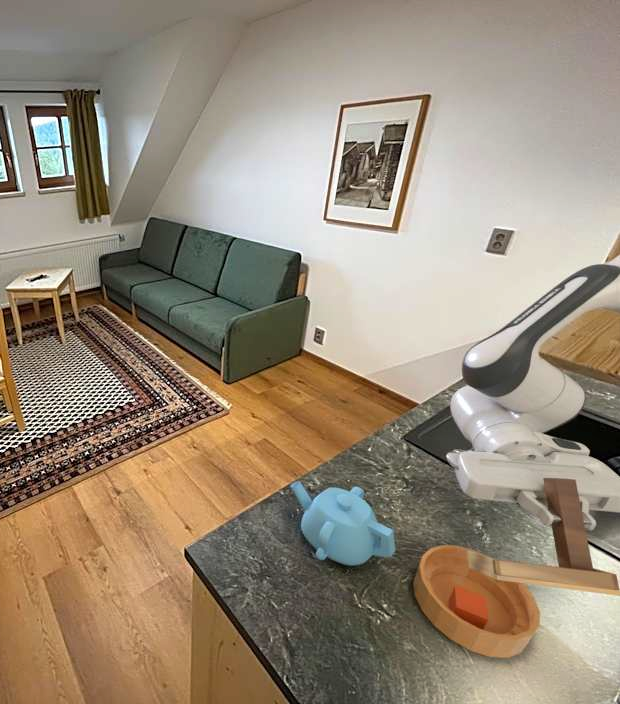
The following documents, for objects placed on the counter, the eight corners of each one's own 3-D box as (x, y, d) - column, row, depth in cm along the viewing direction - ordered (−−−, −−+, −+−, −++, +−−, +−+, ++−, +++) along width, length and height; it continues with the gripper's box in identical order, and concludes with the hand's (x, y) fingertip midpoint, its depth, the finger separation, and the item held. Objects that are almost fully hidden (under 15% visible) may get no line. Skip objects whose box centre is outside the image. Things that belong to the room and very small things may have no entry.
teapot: (404, 544, 77) (418, 501, 72) (368, 606, 68) (381, 562, 62) (307, 490, 91) (312, 450, 86) (266, 535, 81) (269, 494, 76)
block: (448, 599, 67) (455, 585, 66) (478, 611, 65) (485, 596, 64) (449, 621, 64) (456, 607, 63) (480, 634, 62) (488, 620, 61)
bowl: (463, 556, 74) (472, 536, 72) (553, 643, 61) (567, 622, 59) (392, 576, 72) (398, 557, 69) (469, 672, 59) (480, 652, 56)
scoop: (468, 568, 58) (457, 471, 62) (576, 581, 55) (557, 479, 59) (497, 579, 52) (482, 471, 56) (621, 596, 49) (596, 480, 53)
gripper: (446, 435, 67) (489, 500, 55) (596, 444, 62) (678, 518, 50) (437, 463, 70) (475, 530, 58) (579, 474, 65) (653, 550, 53)
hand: (571, 525), depth 54 cm, fingers closed on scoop, 2 cm apart
